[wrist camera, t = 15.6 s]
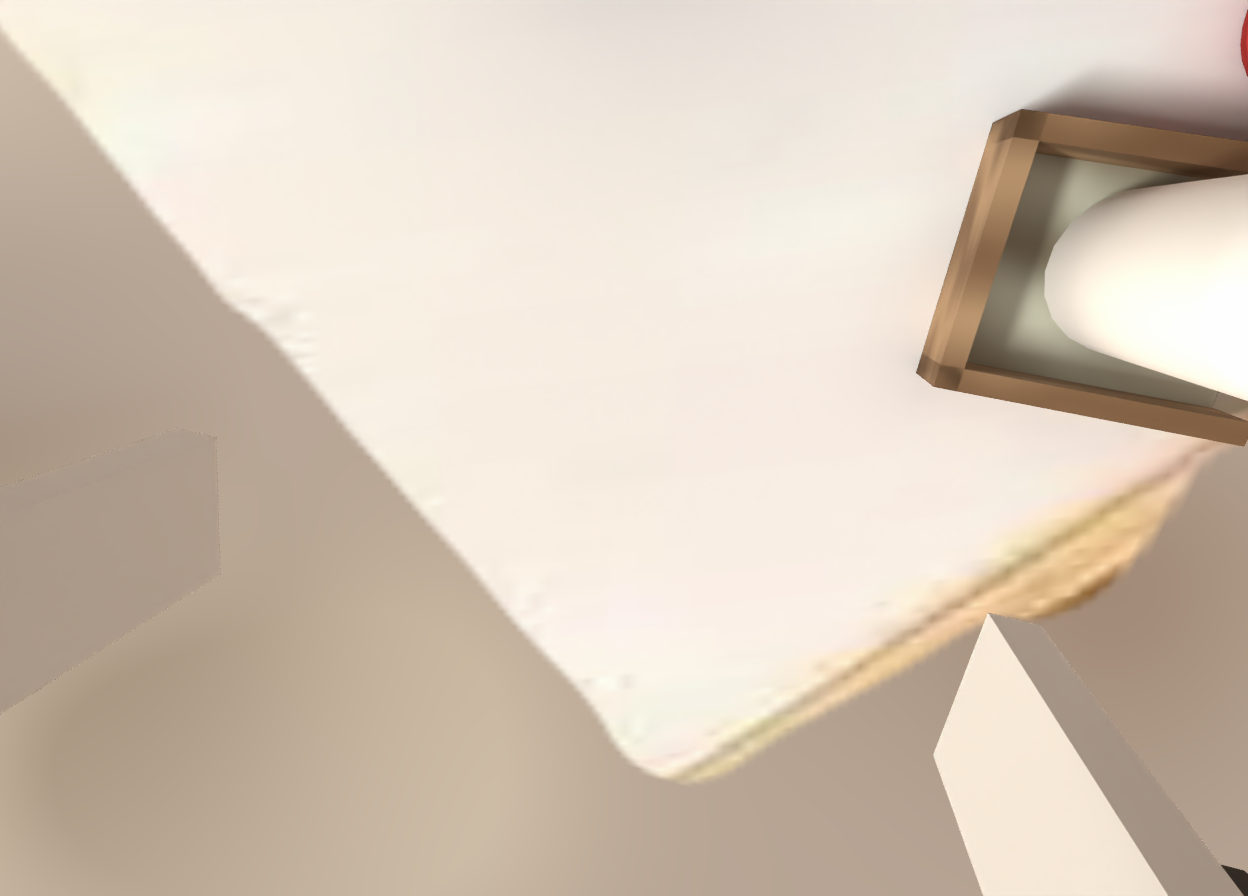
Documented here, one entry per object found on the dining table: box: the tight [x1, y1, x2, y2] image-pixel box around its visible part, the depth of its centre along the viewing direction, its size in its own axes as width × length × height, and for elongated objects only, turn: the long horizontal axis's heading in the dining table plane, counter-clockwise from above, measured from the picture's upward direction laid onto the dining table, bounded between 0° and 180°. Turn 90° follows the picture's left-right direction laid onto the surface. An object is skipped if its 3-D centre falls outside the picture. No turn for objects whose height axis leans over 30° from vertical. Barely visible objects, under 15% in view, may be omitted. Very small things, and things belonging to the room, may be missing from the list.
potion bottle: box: [1044, 174, 1248, 401], centre depth 27 cm, size 8×8×18 cm
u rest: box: [916, 109, 1248, 446], centre depth 35 cm, size 13×15×4 cm
